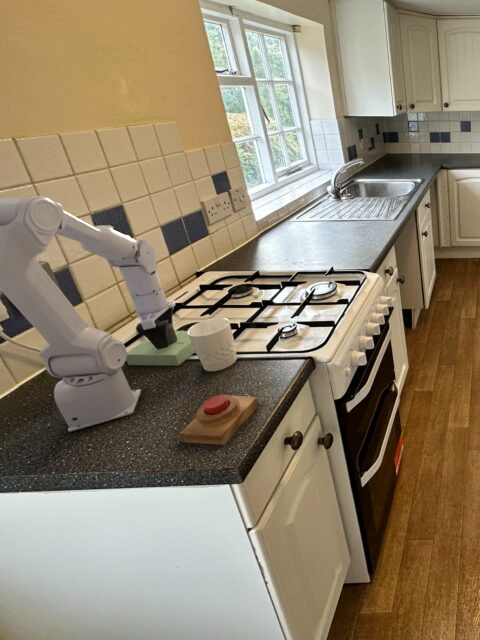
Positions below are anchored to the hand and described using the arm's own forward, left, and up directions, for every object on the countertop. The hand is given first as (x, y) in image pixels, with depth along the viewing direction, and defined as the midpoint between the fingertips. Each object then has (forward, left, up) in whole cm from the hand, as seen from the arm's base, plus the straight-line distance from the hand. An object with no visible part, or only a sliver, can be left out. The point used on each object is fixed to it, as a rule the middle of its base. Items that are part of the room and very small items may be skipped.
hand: (165, 340), depth 99 cm
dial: (0, 0, 0) cm, 0 cm away
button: (+13, -34, 0) cm, 36 cm away
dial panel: (0, 0, -3) cm, 3 cm away
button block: (+13, -34, -4) cm, 36 cm away
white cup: (+11, -11, -4) cm, 16 cm away
